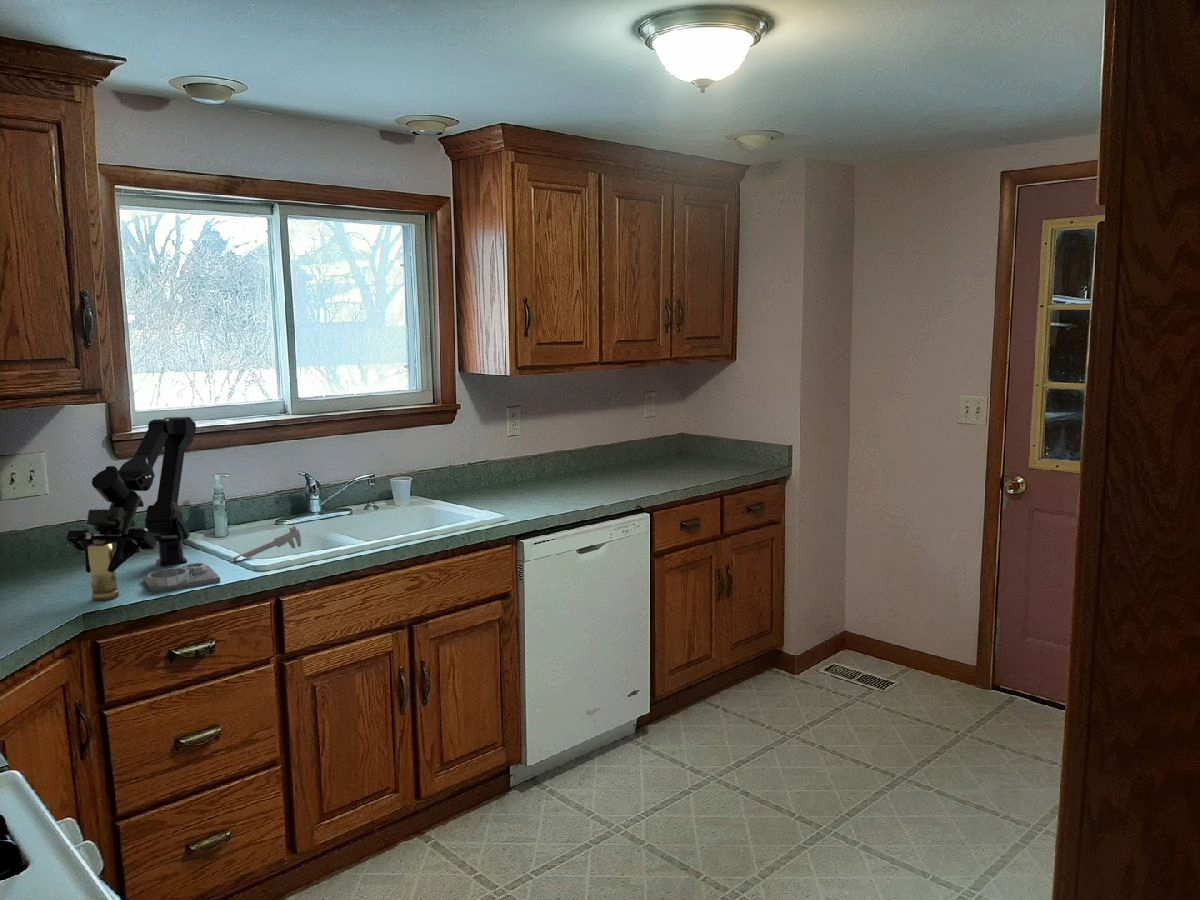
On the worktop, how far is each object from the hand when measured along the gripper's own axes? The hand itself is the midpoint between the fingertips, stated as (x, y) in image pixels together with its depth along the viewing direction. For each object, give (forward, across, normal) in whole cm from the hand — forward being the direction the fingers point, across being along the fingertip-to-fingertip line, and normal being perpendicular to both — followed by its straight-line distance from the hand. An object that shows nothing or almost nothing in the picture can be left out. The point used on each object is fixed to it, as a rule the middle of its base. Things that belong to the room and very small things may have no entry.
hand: (99, 571), depth 207 cm
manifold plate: (-5, +12, +14) cm, 19 cm away
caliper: (-22, +22, +32) cm, 45 cm away
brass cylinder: (+4, 0, +6) cm, 7 cm away
